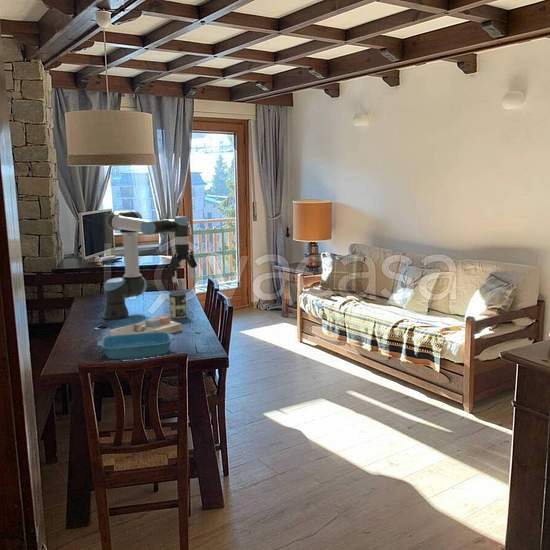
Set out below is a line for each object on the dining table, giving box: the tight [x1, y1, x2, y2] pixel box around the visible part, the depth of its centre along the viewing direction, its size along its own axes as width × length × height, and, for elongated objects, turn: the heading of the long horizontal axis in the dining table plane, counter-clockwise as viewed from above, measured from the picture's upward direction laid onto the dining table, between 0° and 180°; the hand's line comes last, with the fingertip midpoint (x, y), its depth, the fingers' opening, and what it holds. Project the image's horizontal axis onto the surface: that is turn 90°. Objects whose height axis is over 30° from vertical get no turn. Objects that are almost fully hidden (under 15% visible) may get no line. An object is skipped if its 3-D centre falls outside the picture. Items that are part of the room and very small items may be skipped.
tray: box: [108, 323, 154, 337], centre depth 302 cm, size 18×16×4 cm
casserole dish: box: [97, 332, 176, 360], centre depth 276 cm, size 37×22×7 cm, turn 105°
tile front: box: [144, 317, 161, 327], centre depth 313 cm, size 6×6×3 cm
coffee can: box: [168, 292, 188, 319], centre depth 348 cm, size 10×10×14 cm
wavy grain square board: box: [133, 320, 183, 334], centre depth 315 cm, size 20×18×4 cm
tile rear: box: [154, 315, 171, 324], centre depth 318 cm, size 6×6×3 cm
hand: (183, 280), depth 324 cm, fingers open, 13 cm apart
